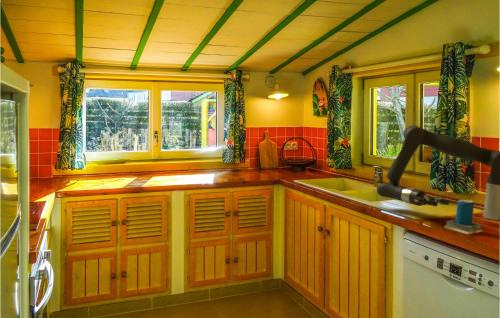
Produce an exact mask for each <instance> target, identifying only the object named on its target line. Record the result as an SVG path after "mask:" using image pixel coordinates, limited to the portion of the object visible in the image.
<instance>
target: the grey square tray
mask: <svg viewBox="0 0 500 318" xmlns="http://www.w3.org/2000/svg"><path fill="white" fill-rule="evenodd" d="M455 222H456V219H453V220H446V223H445V225H444V229H448V230H450V231H451V230H452V231H455V232H458V233H462V234H466V235H472V234H477V233H481V232H484V229H482V225H483V224H480V223H476V222H473V221H472V225H470V226H465V225H461V224H458V223H455Z"/></svg>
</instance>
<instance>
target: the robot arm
mask: <svg viewBox="0 0 500 318" xmlns="http://www.w3.org/2000/svg"><path fill="white" fill-rule="evenodd" d="M402 135H403V138H404V142H403V145H402V147H401V149H400V151H399V153H398V154H397V156H395V158H394V160H393V161H392V163H391V165H390V167H389V168H388V171H387V173H386V178H387V179H388V183H386V182H385V183H384V182H381V183H379V184H378V185H377V187H376V193H377V194H378V195H379V196H380V197H383V198H388V199H394V200H397V201H400V202H404V203H406V204H410V205H413V206H417V207H420V206H432V207H438V205H439V204H441V205H445V206H449V205H450V200H448V199H444V197H442V196H436V195H428V194H427V195H426V192H425V191H424V190H421V189H416V188H411V187H405V186H400V180H401V179H402V176H403V174H404V172H405V170H406V168H407V167H408V165H409V162H410V161H411V159H412V157H413V156H414V154H415V152H416V151H417V150H418V148H419V146H420V145H423V146H425V147H429V148H431V149H434V150H435V151H438V152H440V153H442V154H444V155H447V156H451V157H452V158H453V157H454V158H458V159H461V160H468V161H473V162H477V163H479V164H483V165H485V166H488V167H489V168H491V169H490V173H489V176H487V178H486V187H485V196H484V202H483V203H484V204H483V214H482V217H483V218H484V219H489V220H493V221H500V150H495V149H491V148H485V147H481V146H478V145H476V144H474V143H472V142H470V141H467V140H464V139H461V138H458V137H456V136H450V135H448V134H447V135H446V134H443V133H436V132H433V131H429V130H427V129H425V128H423V127H420V126H418V125H415V124H414V125H409V126H407V127H406V128H404V131H403V134H402Z"/></svg>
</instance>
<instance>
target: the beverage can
mask: <svg viewBox="0 0 500 318" xmlns="http://www.w3.org/2000/svg"><path fill="white" fill-rule="evenodd" d="M456 203H457V205H456V213H455V220H456V222H455V223H458V224H461V225H465V226H470V225H472V222H473V219H474V218H473V217H474V206H475V204H474V201H473V200H470V199H458V201H457V202H456Z"/></svg>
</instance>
